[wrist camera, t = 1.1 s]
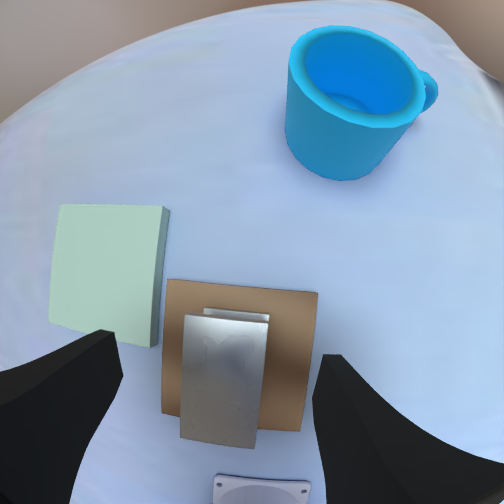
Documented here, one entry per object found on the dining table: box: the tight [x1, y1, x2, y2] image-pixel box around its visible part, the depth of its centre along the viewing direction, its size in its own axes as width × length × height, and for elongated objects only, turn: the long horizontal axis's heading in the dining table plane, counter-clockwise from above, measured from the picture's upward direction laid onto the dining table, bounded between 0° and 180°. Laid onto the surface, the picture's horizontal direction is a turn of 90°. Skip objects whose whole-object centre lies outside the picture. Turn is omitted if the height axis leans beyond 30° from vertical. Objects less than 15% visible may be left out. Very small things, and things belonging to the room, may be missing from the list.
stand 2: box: [161, 279, 318, 432], centre depth 19 cm, size 10×10×2 cm
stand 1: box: [49, 204, 170, 348], centre depth 21 cm, size 10×10×2 cm
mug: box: [285, 26, 438, 181], centre depth 17 cm, size 12×8×8 cm
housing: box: [180, 306, 269, 449], centre depth 16 cm, size 7×4×5 cm, turn 175°
